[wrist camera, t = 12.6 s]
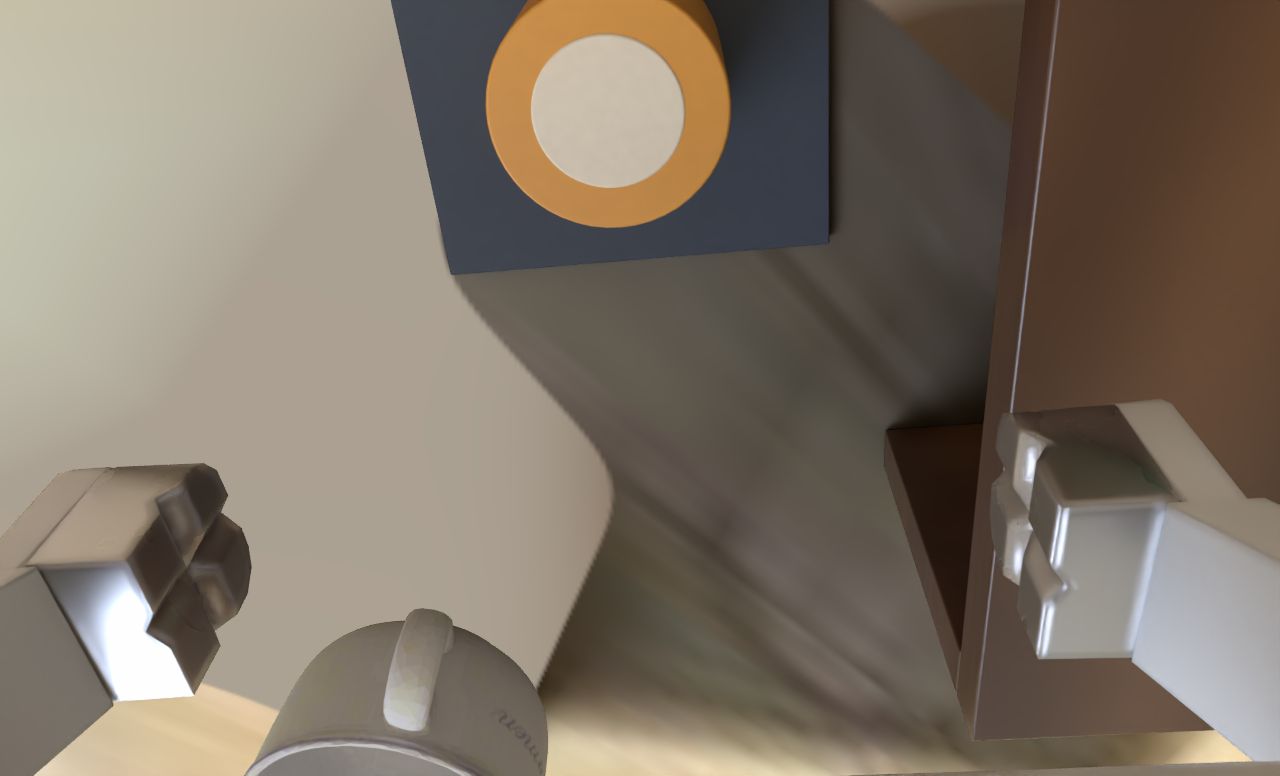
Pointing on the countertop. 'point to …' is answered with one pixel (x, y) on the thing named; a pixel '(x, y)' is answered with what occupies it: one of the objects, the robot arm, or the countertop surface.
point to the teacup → (408, 708)
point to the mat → (707, 223)
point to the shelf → (1111, 316)
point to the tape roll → (610, 106)
